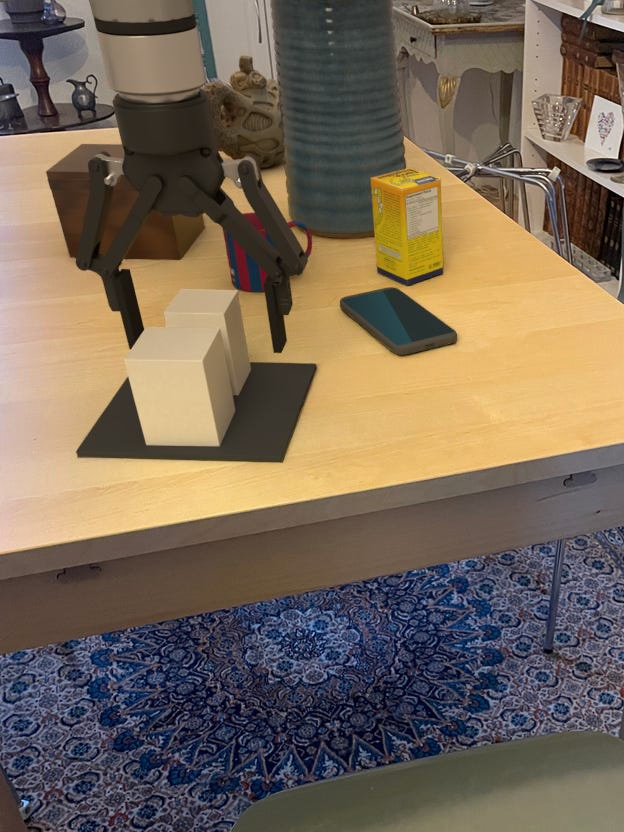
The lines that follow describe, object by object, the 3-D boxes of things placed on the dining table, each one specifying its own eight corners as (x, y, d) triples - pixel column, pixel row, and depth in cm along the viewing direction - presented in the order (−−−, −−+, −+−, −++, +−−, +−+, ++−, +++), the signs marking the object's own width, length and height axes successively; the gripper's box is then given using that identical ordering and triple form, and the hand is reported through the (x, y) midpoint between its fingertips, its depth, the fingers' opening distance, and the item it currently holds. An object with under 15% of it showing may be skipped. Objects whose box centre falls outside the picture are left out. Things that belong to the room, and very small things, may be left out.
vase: (284, 205, 133) (248, -74, 111) (397, 197, 136) (384, -77, 115) (296, 245, 121) (259, -59, 100) (420, 235, 124) (410, -62, 103)
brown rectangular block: (69, 257, 117) (44, 171, 110) (102, 224, 126) (81, 143, 119) (180, 259, 117) (163, 173, 110) (205, 227, 126) (190, 145, 119)
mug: (230, 273, 114) (220, 214, 109) (313, 266, 115) (307, 208, 111) (232, 294, 109) (222, 233, 104) (319, 287, 110) (312, 227, 106)
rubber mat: (77, 457, 82) (75, 451, 81) (140, 364, 95) (139, 359, 95) (282, 462, 81) (281, 456, 81) (316, 368, 95) (316, 363, 94)
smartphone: (396, 293, 109) (396, 285, 108) (461, 341, 99) (461, 333, 99) (336, 306, 106) (336, 298, 105) (397, 357, 96) (397, 349, 96)
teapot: (261, 145, 155) (246, 39, 145) (322, 152, 152) (312, 44, 142) (186, 181, 141) (164, 66, 131) (253, 190, 138) (235, 73, 127)
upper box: (146, 445, 82) (123, 359, 77) (166, 409, 87) (146, 326, 82) (219, 446, 82) (202, 360, 77) (235, 410, 87) (220, 327, 82)
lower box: (181, 394, 89) (162, 312, 84) (196, 368, 93) (179, 288, 88) (238, 395, 89) (223, 313, 84) (251, 369, 93) (237, 289, 88)
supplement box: (412, 260, 117) (408, 166, 110) (444, 274, 114) (442, 177, 106) (375, 273, 114) (368, 176, 107) (406, 287, 111) (402, 188, 103)
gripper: (323, 83, 77) (345, 331, 91) (23, 77, 78) (92, 325, 92) (307, 105, 71) (333, 366, 86) (-16, 99, 72) (64, 359, 86)
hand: (209, 345), depth 89 cm, fingers open, 13 cm apart
